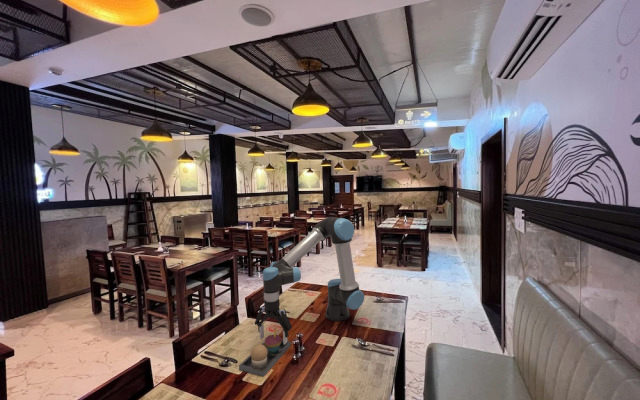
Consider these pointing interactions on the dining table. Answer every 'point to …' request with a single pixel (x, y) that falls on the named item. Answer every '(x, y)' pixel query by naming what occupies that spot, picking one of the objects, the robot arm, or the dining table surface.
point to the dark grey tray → (271, 360)
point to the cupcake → (273, 342)
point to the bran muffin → (259, 356)
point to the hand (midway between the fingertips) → (273, 340)
